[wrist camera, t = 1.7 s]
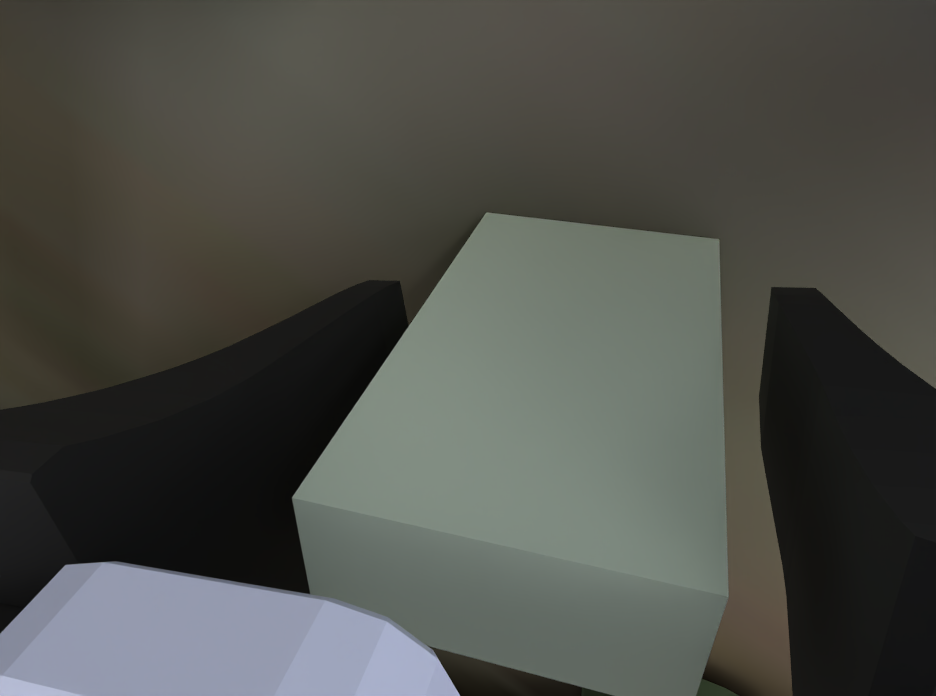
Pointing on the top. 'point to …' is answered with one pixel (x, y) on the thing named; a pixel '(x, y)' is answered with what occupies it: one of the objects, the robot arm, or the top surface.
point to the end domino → (542, 461)
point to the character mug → (707, 692)
